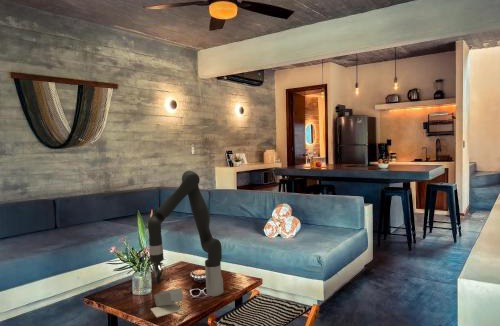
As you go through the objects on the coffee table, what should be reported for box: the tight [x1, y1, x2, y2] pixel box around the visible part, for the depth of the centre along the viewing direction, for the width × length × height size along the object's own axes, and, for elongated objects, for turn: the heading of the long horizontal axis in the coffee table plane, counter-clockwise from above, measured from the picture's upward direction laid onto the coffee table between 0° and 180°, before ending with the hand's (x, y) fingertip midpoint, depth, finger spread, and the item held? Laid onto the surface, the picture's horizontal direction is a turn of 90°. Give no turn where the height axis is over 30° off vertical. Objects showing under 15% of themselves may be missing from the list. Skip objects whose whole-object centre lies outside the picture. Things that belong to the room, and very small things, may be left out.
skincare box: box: [153, 287, 185, 307], centre depth 211 cm, size 8×7×16 cm
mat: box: [150, 302, 183, 318], centre depth 208 cm, size 14×12×1 cm
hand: (158, 282), depth 214 cm, fingers closed
